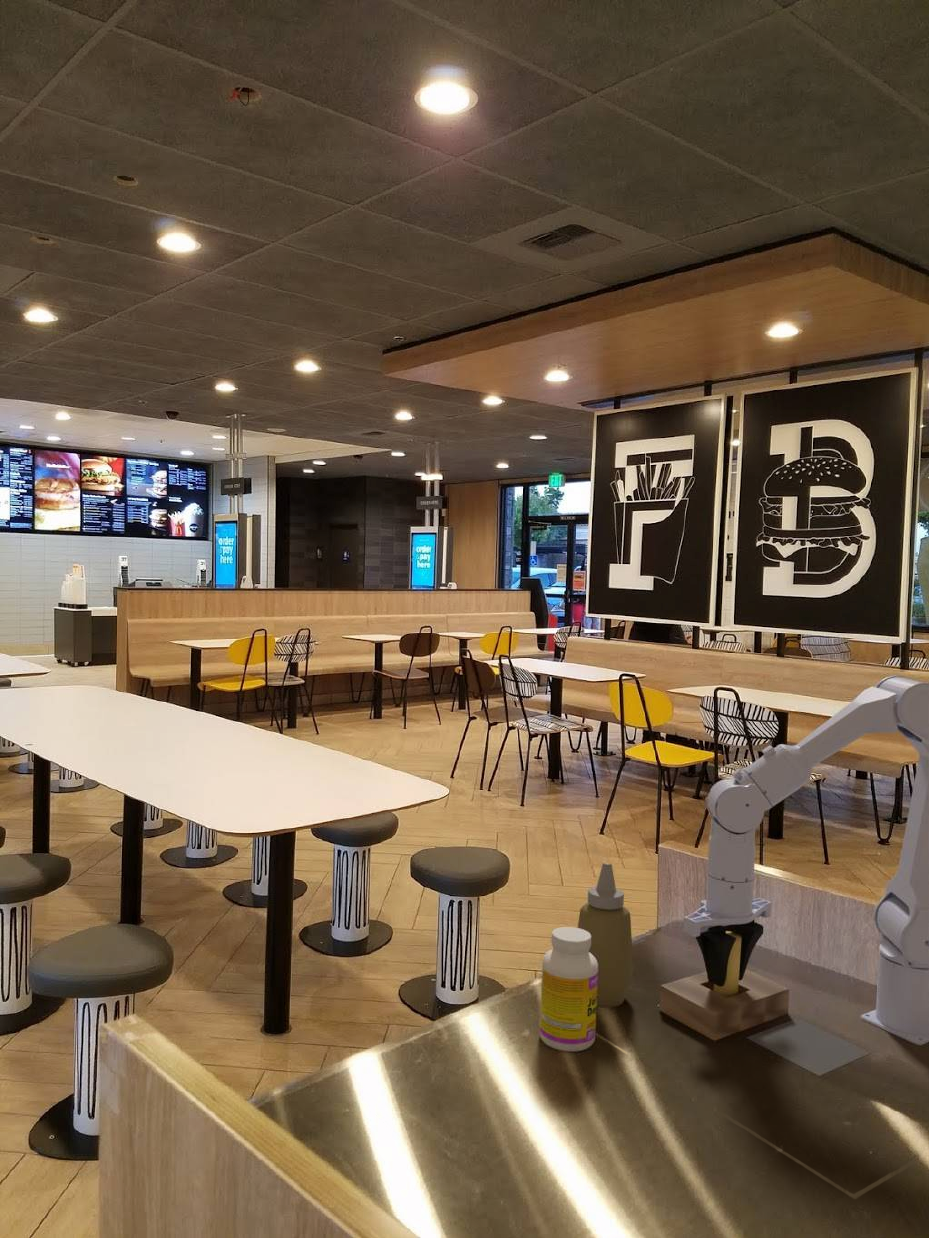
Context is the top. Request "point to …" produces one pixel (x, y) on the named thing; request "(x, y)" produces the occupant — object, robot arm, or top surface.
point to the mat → (808, 1046)
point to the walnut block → (723, 1004)
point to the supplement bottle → (569, 991)
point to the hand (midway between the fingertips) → (725, 980)
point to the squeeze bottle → (609, 938)
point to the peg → (731, 969)
